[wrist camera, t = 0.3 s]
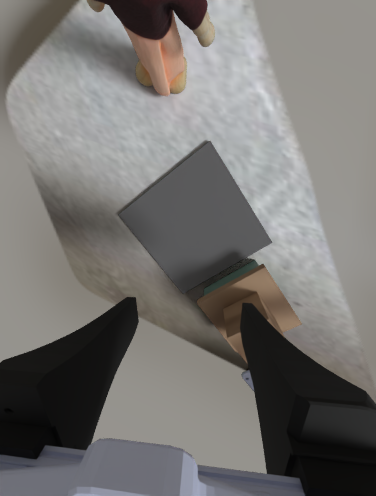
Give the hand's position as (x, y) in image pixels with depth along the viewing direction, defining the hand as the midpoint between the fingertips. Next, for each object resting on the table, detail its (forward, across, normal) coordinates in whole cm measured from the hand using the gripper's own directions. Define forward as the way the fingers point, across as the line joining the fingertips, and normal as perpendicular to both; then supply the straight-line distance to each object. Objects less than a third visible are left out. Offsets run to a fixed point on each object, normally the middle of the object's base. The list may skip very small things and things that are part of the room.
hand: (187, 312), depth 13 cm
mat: (+10, 0, -3) cm, 11 cm away
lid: (+8, -6, +5) cm, 11 cm away
